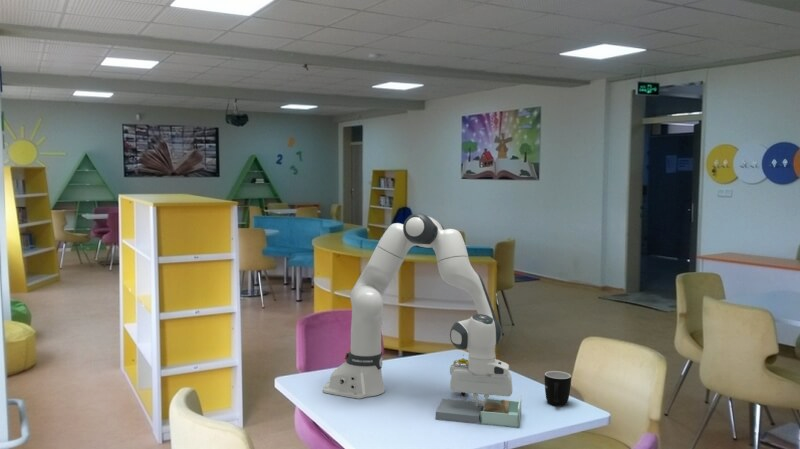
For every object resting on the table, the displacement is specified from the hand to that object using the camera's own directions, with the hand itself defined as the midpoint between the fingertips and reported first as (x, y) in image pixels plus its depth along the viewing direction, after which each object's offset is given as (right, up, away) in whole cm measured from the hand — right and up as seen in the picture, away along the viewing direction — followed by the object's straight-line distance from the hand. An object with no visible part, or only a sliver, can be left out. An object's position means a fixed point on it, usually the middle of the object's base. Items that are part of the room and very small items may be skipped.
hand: (480, 406), depth 212 cm
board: (-7, -3, +2) cm, 8 cm away
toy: (-4, -2, +21) cm, 22 cm away
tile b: (+4, -2, -1) cm, 4 cm away
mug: (+28, -3, +12) cm, 31 cm away
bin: (+7, -4, -1) cm, 8 cm away
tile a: (+6, -1, -2) cm, 7 cm away
